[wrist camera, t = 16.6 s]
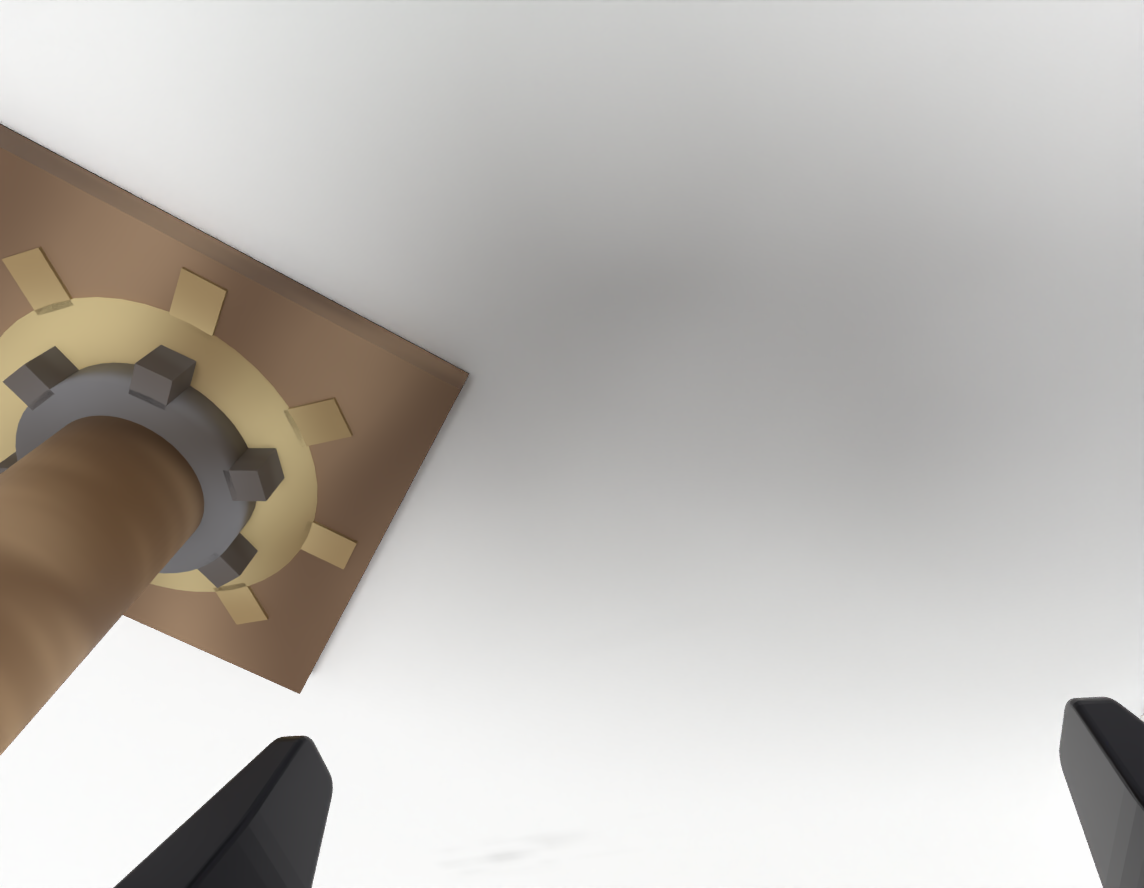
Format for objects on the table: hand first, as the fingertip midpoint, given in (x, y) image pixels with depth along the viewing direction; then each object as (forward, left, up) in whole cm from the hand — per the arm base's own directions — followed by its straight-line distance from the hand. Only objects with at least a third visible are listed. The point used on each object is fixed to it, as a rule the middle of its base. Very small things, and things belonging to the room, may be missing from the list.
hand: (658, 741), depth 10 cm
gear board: (+11, +11, -13) cm, 20 cm away
